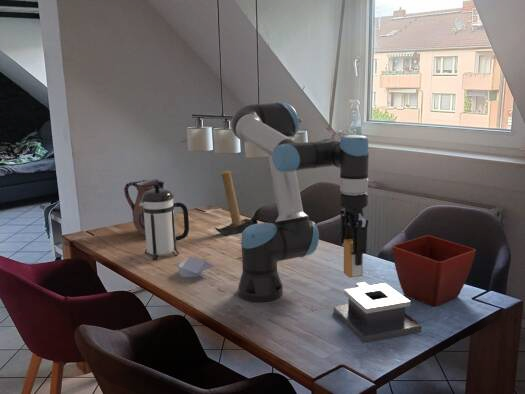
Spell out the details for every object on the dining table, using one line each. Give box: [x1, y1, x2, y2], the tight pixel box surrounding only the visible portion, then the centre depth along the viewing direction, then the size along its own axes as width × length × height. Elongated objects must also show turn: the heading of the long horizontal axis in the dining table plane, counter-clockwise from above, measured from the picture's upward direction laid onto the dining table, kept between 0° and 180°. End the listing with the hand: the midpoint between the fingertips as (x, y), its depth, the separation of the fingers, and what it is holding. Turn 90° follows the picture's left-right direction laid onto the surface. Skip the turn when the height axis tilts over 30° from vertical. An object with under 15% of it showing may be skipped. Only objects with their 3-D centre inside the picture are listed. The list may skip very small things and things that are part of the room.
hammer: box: [214, 170, 259, 237], centre depth 242 cm, size 20×5×30 cm, turn 120°
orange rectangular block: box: [343, 238, 364, 279], centre depth 149 cm, size 4×4×10 cm
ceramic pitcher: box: [123, 178, 165, 236], centre depth 245 cm, size 18×21×25 cm
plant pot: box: [391, 235, 477, 307], centre depth 171 cm, size 19×19×17 cm
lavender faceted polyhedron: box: [178, 255, 215, 278], centre depth 196 cm, size 9×7×13 cm
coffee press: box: [139, 184, 190, 261], centre depth 216 cm, size 17×16×30 cm
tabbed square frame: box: [333, 281, 422, 343], centre depth 156 cm, size 18×20×8 cm
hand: (353, 272), depth 150 cm, fingers closed on orange rectangular block, 4 cm apart
